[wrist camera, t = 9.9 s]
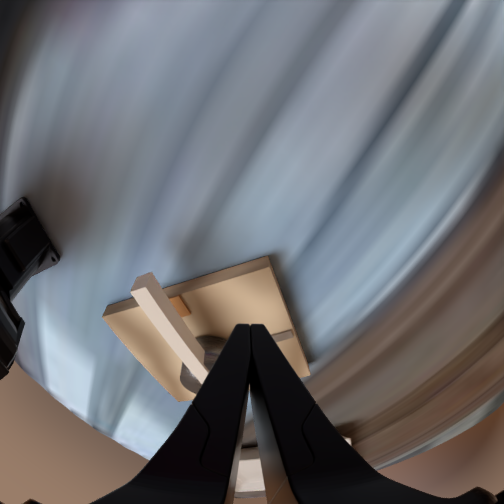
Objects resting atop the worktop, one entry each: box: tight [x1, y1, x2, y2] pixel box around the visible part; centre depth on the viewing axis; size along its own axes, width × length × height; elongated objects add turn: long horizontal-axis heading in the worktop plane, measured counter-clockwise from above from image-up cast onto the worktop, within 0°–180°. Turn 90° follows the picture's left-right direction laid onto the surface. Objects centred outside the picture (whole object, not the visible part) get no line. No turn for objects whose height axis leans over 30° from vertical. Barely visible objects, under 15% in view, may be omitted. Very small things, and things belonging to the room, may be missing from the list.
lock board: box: [102, 256, 310, 402], centre depth 26 cm, size 15×14×2 cm
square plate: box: [235, 436, 351, 492], centre depth 44 cm, size 27×27×4 cm
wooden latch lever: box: [130, 272, 227, 394], centre depth 22 cm, size 13×5×3 cm, turn 20°
